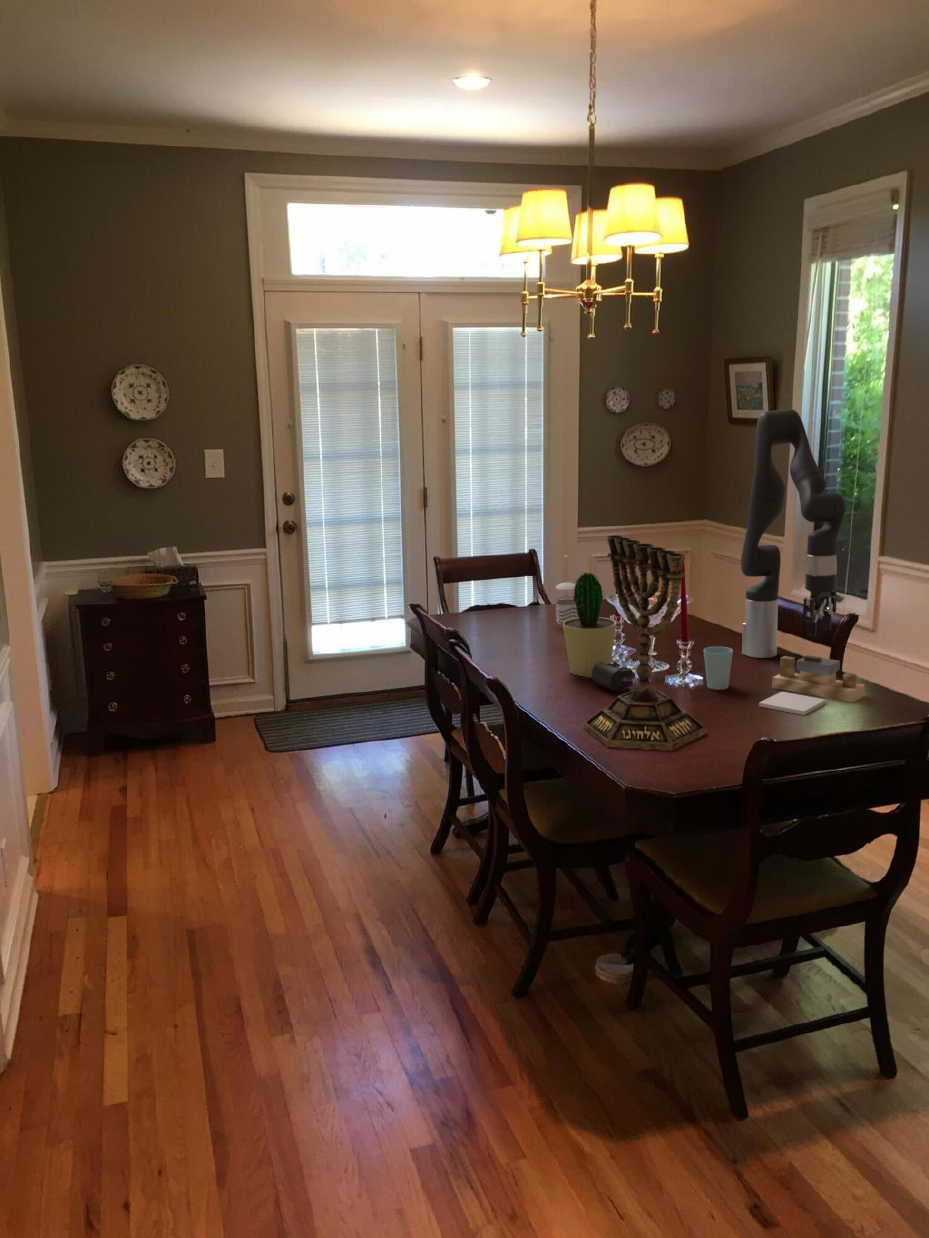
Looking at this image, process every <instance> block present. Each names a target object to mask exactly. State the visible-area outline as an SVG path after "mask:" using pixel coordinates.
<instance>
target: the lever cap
mask: <svg viewBox="0 0 929 1238" xmlns="http://www.w3.org/2000/svg"><path fill="white" fill-rule="evenodd" d="M840 668H841V661H840V660H838V659H832V658H825V657H824V658H823V657H822V656H815V655H808V654H807V655H805V656H804V657H802V658H799V659H797V660H796V667H795V671H796V670H797V671H799V670H801V671H807V672H813V673H819V674H825V675H831V674H833V673H835V672H836V673H837V672H838V671H841V669H840Z"/></svg>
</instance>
